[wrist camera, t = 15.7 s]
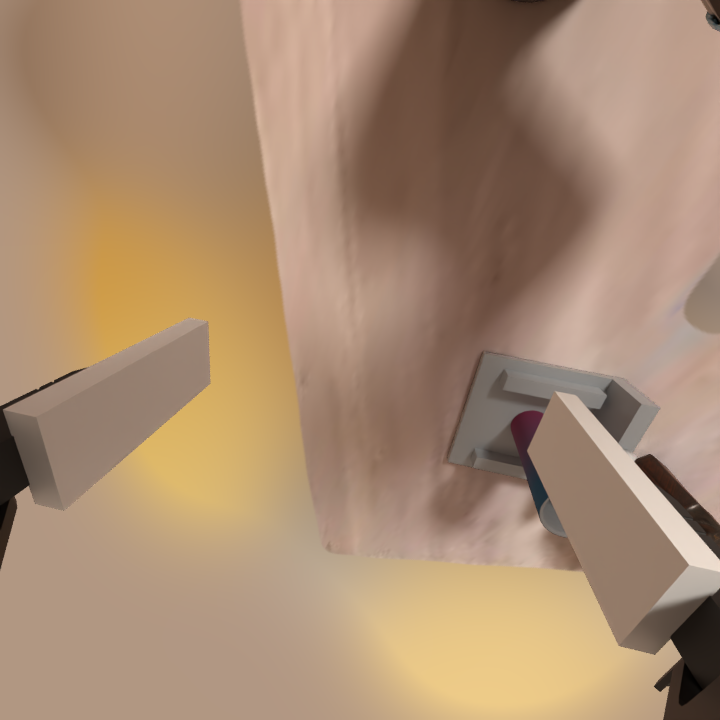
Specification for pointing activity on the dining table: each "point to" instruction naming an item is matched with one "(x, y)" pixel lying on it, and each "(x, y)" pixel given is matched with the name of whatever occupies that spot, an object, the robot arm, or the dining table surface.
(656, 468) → the manual coffee grinder
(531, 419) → the cup
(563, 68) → the dining table surface
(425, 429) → the dining table surface
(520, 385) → the dock
